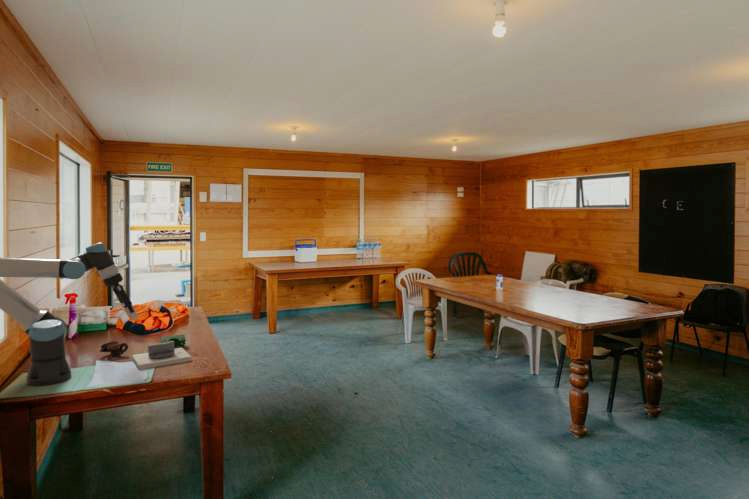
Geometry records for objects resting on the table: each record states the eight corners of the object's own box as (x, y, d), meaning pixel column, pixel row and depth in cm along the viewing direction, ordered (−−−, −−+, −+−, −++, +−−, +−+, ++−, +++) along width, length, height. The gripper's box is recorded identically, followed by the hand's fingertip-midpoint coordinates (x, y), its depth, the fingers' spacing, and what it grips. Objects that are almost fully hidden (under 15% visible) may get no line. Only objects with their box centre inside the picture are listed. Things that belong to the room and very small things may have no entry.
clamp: (166, 358, 239) (158, 344, 235) (165, 352, 244) (157, 338, 240) (189, 346, 243) (182, 332, 239) (188, 341, 248) (180, 327, 244)
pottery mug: (100, 362, 220) (96, 345, 223) (105, 365, 229) (101, 349, 231) (128, 352, 225) (124, 336, 227) (132, 356, 233) (128, 340, 235)
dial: (150, 360, 214) (150, 347, 214) (146, 354, 223) (145, 342, 223) (176, 356, 220) (176, 343, 220) (171, 350, 229) (171, 338, 229)
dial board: (138, 369, 208) (138, 364, 208) (132, 359, 223) (132, 354, 223) (191, 360, 221) (191, 356, 221) (182, 351, 236) (181, 347, 235)
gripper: (123, 273, 208) (146, 316, 213) (115, 270, 228) (136, 309, 234) (105, 281, 204) (129, 324, 209) (98, 277, 224) (120, 317, 230)
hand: (133, 316), depth 222 cm, fingers open, 13 cm apart
